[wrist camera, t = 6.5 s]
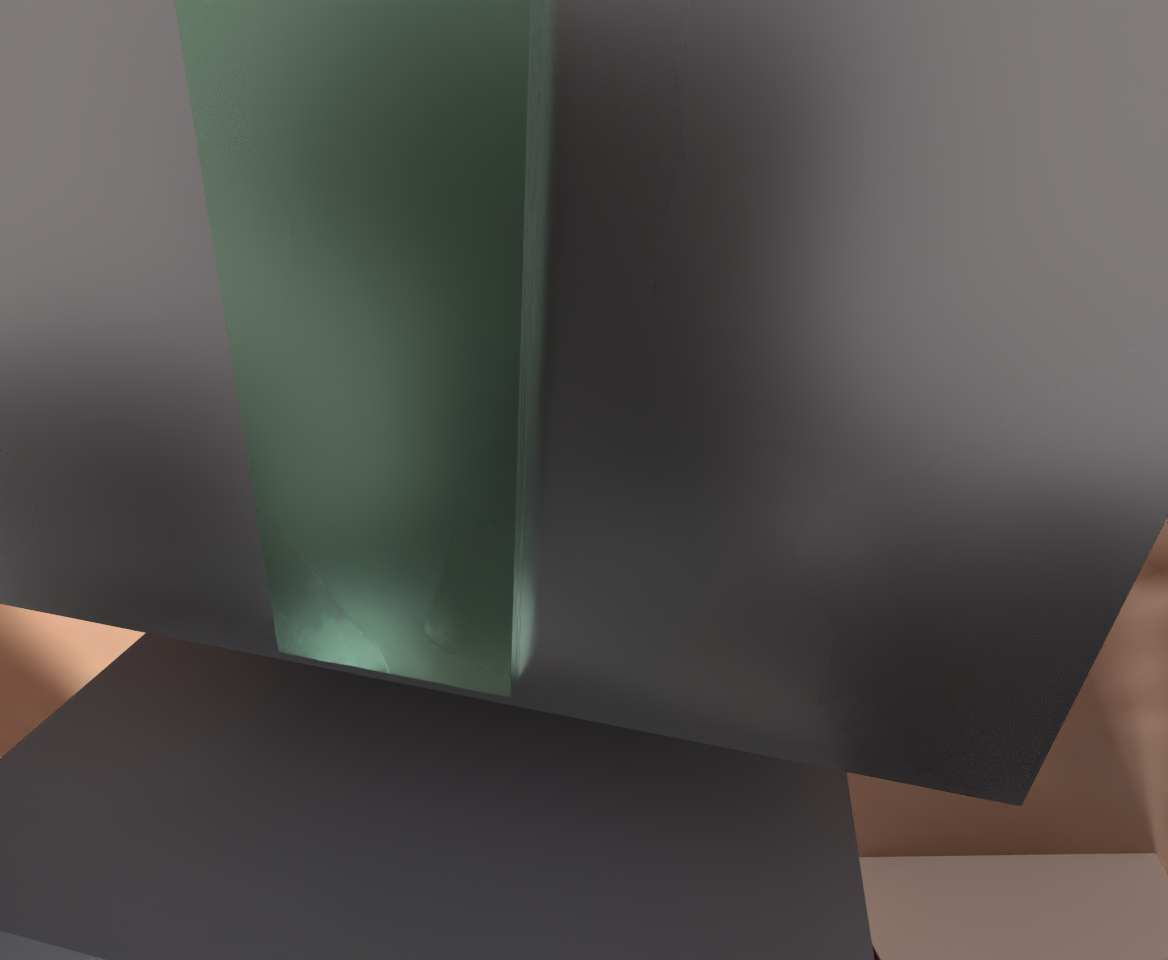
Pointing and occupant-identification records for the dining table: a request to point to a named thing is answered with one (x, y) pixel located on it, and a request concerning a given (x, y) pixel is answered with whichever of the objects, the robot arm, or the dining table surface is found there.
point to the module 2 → (1018, 907)
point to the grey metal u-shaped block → (600, 352)
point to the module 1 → (402, 828)
